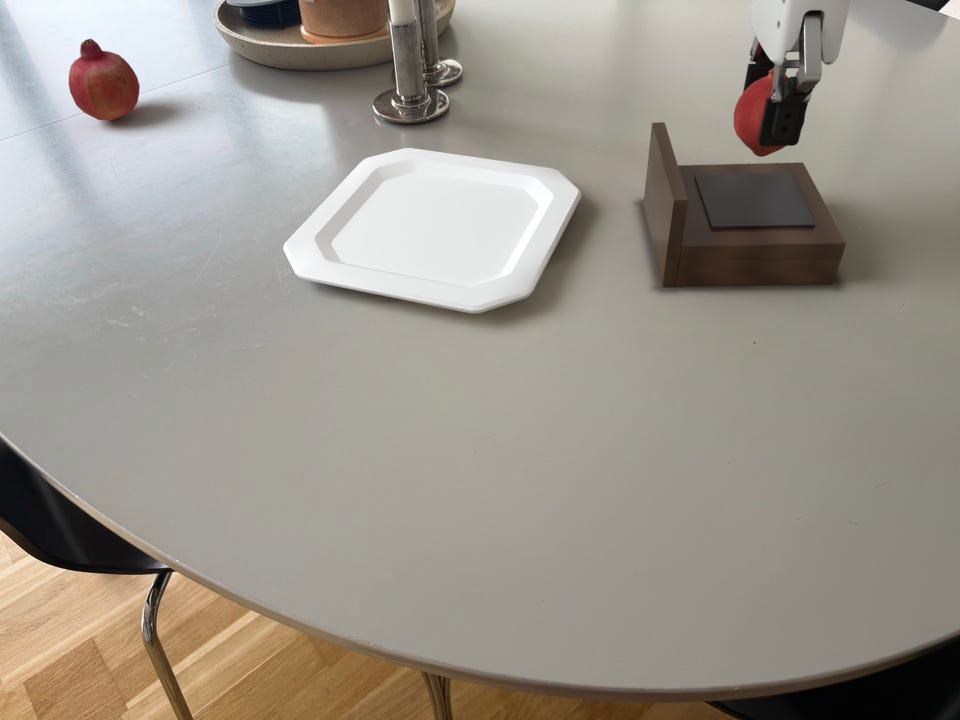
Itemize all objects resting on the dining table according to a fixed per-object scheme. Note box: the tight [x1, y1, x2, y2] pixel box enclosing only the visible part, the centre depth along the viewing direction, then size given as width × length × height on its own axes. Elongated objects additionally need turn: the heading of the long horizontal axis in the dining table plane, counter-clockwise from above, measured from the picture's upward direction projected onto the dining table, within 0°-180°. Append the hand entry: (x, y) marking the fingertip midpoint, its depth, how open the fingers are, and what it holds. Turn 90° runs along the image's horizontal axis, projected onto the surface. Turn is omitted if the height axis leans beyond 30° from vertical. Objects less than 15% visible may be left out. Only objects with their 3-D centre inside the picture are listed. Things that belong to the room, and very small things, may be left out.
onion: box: [733, 68, 806, 158], centre depth 69 cm, size 6×6×8 cm
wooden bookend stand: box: [642, 121, 847, 288], centre depth 75 cm, size 15×14×9 cm
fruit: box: [68, 38, 141, 121], centre depth 100 cm, size 8×8×10 cm
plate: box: [283, 147, 583, 314], centre depth 80 cm, size 25×25×2 cm
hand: (768, 123), depth 70 cm, fingers closed on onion, 5 cm apart
